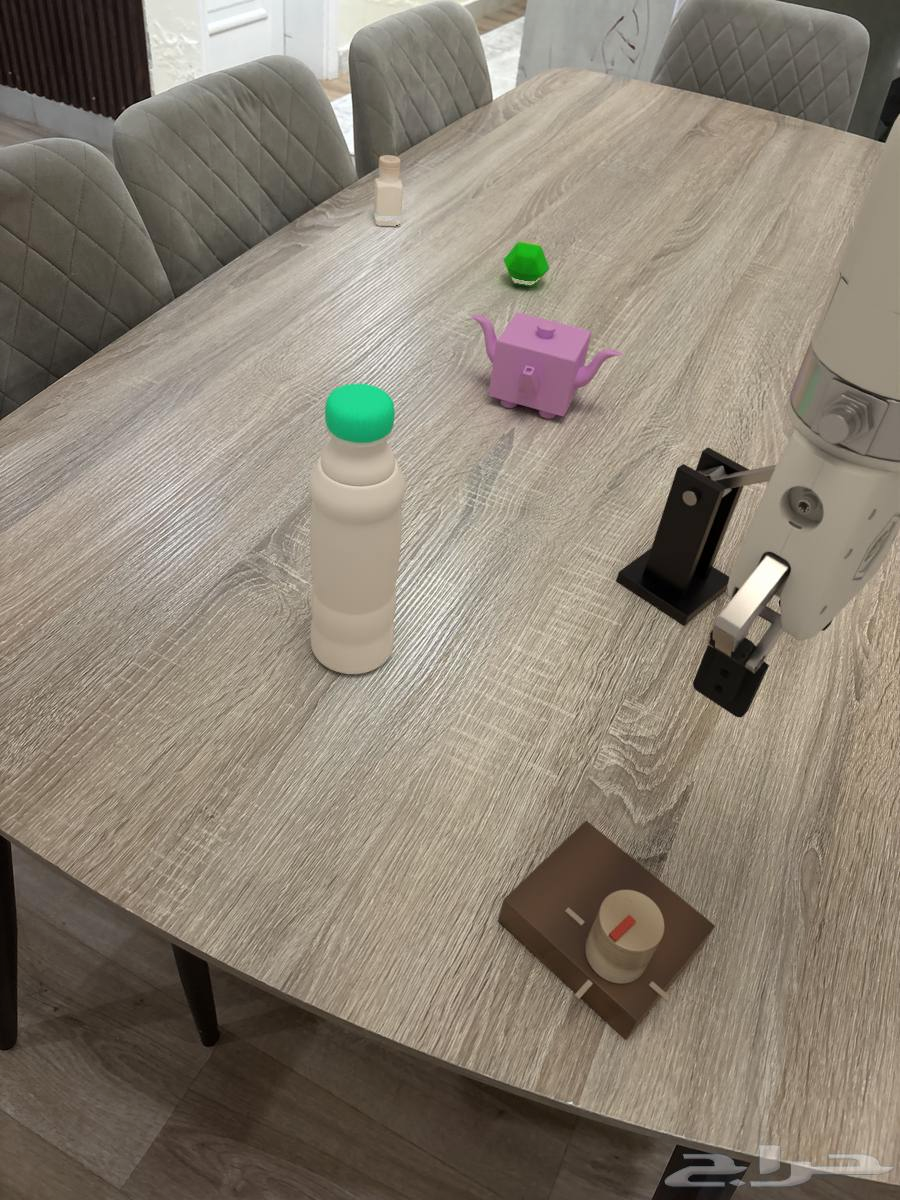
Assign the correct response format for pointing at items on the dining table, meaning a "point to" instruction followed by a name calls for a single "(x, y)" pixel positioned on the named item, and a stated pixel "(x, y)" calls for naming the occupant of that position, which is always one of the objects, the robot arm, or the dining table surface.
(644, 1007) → the tap panel
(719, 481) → the faucet lever
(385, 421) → the water bottle
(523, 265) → the green faceted polyhedron
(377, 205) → the salt shaker
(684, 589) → the black lever stand
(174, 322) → the dining table surface
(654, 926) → the tap knob
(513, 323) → the teapot
